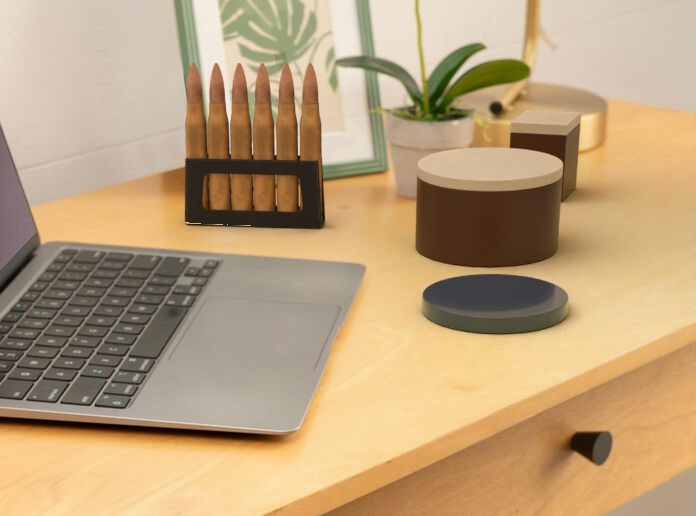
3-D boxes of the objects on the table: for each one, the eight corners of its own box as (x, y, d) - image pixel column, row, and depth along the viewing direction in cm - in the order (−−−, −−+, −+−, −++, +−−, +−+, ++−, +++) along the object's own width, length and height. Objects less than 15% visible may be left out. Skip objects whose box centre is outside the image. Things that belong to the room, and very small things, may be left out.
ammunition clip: (184, 224, 116) (177, 65, 110) (190, 218, 117) (184, 60, 112) (321, 228, 113) (320, 65, 108) (325, 222, 115) (325, 61, 109)
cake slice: (522, 183, 123) (526, 109, 120) (576, 187, 121) (581, 112, 119) (506, 198, 119) (510, 122, 116) (562, 202, 117) (567, 125, 115)
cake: (515, 222, 113) (520, 141, 110) (584, 256, 104) (590, 170, 101) (392, 237, 110) (394, 155, 107) (452, 273, 101) (455, 186, 99)
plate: (524, 281, 99) (524, 267, 99) (594, 322, 91) (596, 306, 91) (398, 298, 97) (399, 283, 97) (460, 341, 89) (461, 325, 89)
